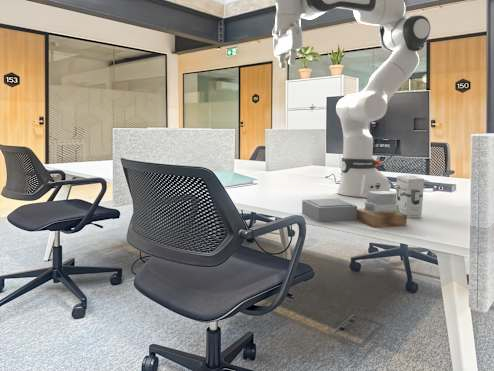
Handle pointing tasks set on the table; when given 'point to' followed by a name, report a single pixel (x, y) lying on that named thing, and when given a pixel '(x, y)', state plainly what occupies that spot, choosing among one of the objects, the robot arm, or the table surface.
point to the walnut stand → (381, 219)
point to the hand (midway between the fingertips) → (286, 66)
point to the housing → (381, 202)
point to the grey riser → (329, 210)
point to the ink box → (409, 195)
